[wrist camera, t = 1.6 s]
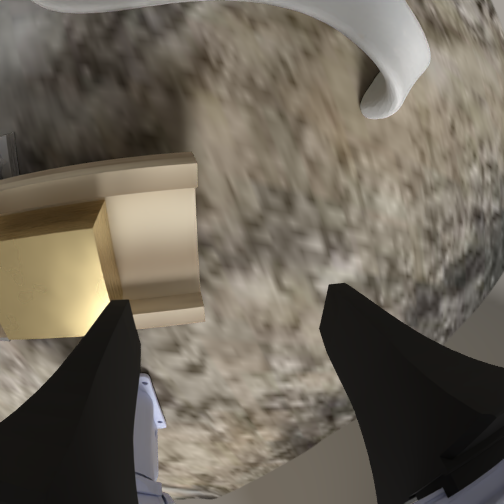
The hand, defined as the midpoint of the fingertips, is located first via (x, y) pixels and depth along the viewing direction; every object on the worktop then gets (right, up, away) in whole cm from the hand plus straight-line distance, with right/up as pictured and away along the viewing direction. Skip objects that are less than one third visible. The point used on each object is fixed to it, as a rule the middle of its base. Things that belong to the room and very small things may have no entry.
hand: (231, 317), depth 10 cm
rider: (-9, +2, +3) cm, 9 cm away
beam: (-16, +2, +2) cm, 16 cm away
